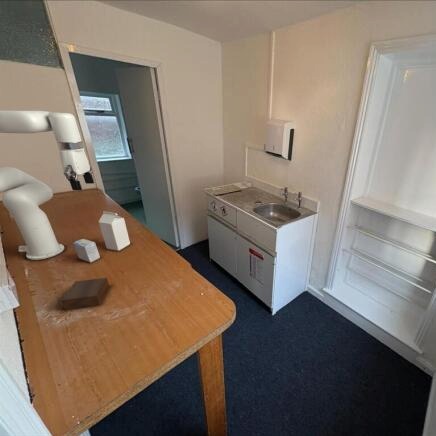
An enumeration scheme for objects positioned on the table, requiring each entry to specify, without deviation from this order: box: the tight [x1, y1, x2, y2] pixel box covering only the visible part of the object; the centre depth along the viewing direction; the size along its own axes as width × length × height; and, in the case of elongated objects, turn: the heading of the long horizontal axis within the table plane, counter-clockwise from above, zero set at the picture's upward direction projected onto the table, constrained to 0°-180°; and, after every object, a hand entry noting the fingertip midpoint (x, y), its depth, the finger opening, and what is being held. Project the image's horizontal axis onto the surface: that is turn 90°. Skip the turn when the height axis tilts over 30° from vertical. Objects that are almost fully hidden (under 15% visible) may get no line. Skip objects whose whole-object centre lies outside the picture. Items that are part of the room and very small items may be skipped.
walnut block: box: [60, 277, 110, 311], centre depth 86 cm, size 10×10×4 cm
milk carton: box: [98, 210, 131, 252], centre depth 114 cm, size 7×7×19 cm
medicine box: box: [72, 238, 101, 263], centre depth 106 cm, size 8×4×9 cm, turn 71°
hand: (84, 186), depth 101 cm, fingers open, 9 cm apart
